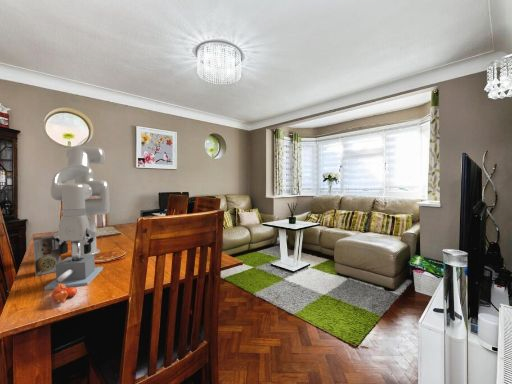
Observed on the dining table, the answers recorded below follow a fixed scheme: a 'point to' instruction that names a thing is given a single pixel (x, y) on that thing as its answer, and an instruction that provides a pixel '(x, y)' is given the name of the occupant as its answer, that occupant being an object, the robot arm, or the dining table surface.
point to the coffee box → (46, 254)
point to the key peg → (75, 251)
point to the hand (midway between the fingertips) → (75, 253)
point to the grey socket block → (75, 272)
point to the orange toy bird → (62, 293)
